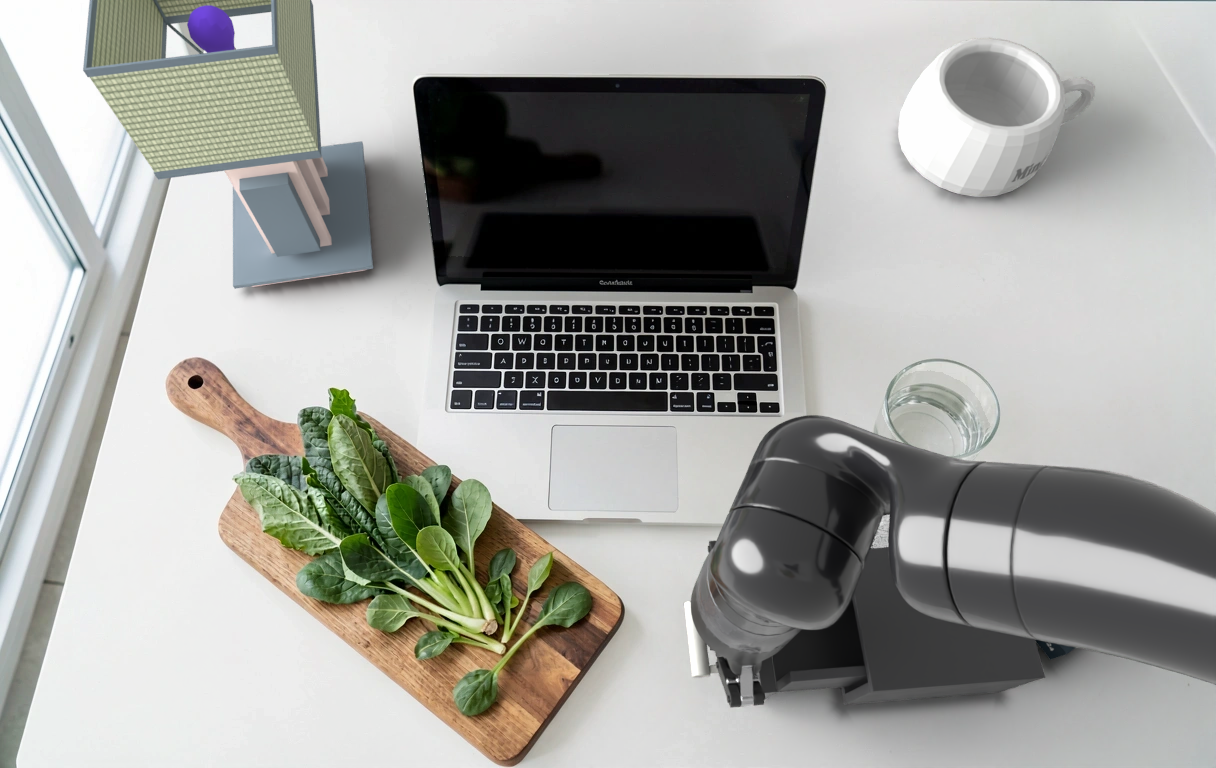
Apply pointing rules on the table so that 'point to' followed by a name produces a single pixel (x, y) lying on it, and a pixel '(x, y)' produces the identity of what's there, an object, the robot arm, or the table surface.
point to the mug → (986, 116)
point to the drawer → (799, 658)
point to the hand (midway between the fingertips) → (721, 640)
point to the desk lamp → (238, 128)
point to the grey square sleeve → (929, 648)
